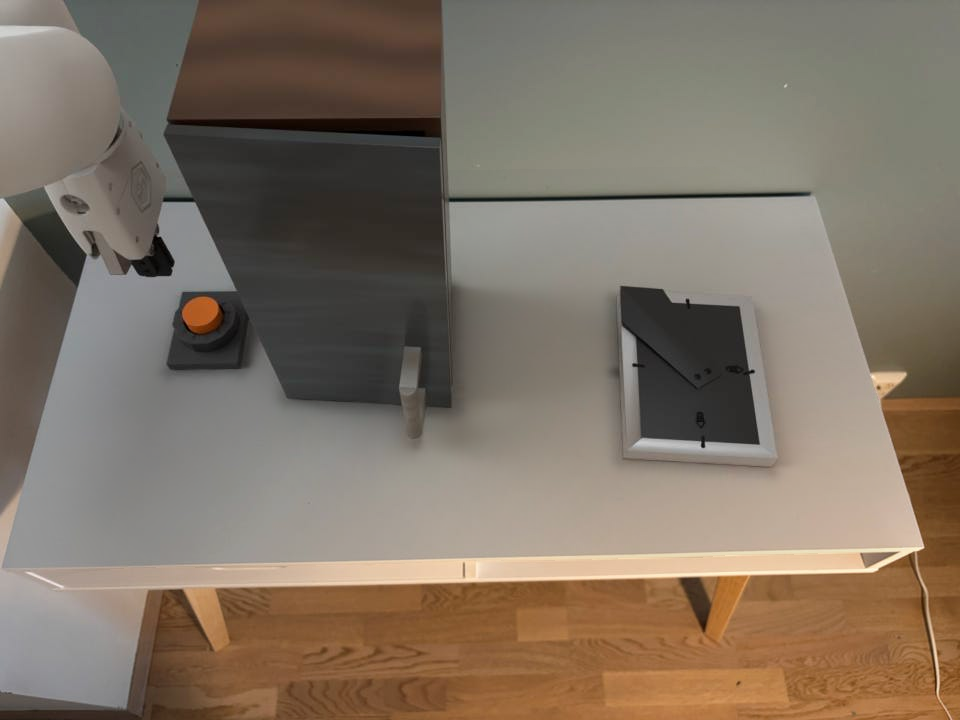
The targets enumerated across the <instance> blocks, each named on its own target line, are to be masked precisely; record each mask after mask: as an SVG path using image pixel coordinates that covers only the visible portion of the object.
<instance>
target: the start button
mask: <svg viewBox="0 0 960 720" xmlns="http://www.w3.org/2000/svg"><path fill="white" fill-rule="evenodd" d="M182 316H183V319H184V321H185V323H186V324H187V326H188V327H189V329H190V330H191V331H192V332H194V333H197V334H208V333H211V332H213V331H214V330H216V329H217V328H218V327H219V326H220V325H221V323H222V320H223V314H222V311H221V310H220V308H219V306H218V304H217V302H216V301H215V300H214V299H212V298H209V297H198V298H195V299H193V300H191V301H189V302H188V303H187V304H186V305H185V307H184V309H183V312H182Z"/></svg>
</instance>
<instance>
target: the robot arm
mask: <svg viewBox="0 0 960 720" xmlns="http://www.w3.org/2000/svg"><path fill="white" fill-rule="evenodd" d="M41 188H44V190H45V192H46V194H47V196H48V198H49V200H50V202H51V204H52V206H53V207H54V209H55V211H56V213H57V214H58V216H59V218H60V219H61V221H62V223H63V224H64V226H65V228H66V229H67V230H68V232H69V234H70V235H71V236H72V238H73V240H75V242H76V243H77V245H78V246H79V247H80V248H81V250H82V251H83V252H84V253H85V254H86V255H87V256H88V257H89V258H91V259H92V260H97V259H98V258H99V257H100V256H101V259H102V260H103V263H104V264H105V267H106V269H107V272H108V274H109V275H111V276H126V275H127V274H128V273H129V270H130V269H131V266H132V268H133V269H134V270H135V272H136V274H138V276H140V277H146V278H156V277H171V276H173V271H174V270H173V268H174V266H175V262H176V261H175V259H174V257H173V255H172V253H171V251H170V250H169V248H168V246H167V245H166V243H165V241H164V239H163V237H162V236H159V235H160V231H161V230H160V225H159V222H158V221H159V218H160V214H161V211H162V206H163V203H164V198H165V195H166V189H167V177H166V175H165V172H164V170H163V168H162V166H161V165H160V163H159V160H158V159H157V157H156V155H155V154H154V152H153V150H152V148H151V146H150V145H149V143H148V142H147V140H146V137H144V135H143V134H142V132H141V130H140V129H139V127H138V126H137V124H136V123H135V122H134V120H133V119H132V117H131V116H130V115H129V113H128V112H127V110H125V109H124V108H123V106H122V105H121V96H120V90H119V86H118V83H117V79H116V76H115V74H114V73H113V69H112V68H111V66H110V65H109V63H108V61H107V59H106V57H105V56H104V55H103V54H102V53H101V52H100V50H99V49H98V48H97V47H96V46H95V45H94V44H93V43H92V42H91V41H89V39H87V38H86V37H84V36H82V34H81V32H80V31H79V28H78V26H77V25H76V23H75V21H74V18H73V16H72V15H71V13H70V11H69V9H68V7H67V5H66V3H65V2H64V0H0V200H1V199H6V198H9V197H12V196H18V195H21V194H24V193H28V192H31V191H34V190H38V189H41Z"/></svg>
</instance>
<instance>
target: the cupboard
mask: <svg viewBox="0 0 960 720" xmlns="http://www.w3.org/2000/svg"><path fill="white" fill-rule="evenodd" d="M193 16H194V17H193V21H192V23H191V28H190V31H189V35H188V38H187V42H186V46H185V50H184V54H183V57H182V60H181V65H180V68H179V72H178V76H177V79H176V82H175V87H174V90H173V94H172V97H171V101H170V104H169V109H168V112H167V116H166V119H165V120H166V122H167V124H171V125H191V126H211V127H231V128H252V129H272V130H292V131H312V132H332V133H352V134H372V135H392V136H412V137H432V138H441V153H442V175H443V198H444V220H445V243H446V265H447V288H448V310H449V333H450V355H451V378H452V387H453V385H454V384H453V383H454V380H453V375H454V373H453V368H454V367H453V276H452V275H453V273H452V250H451V249H452V247H451V244H452V243H451V218H450V217H451V215H450V187H449V186H450V185H449V164H448V163H449V160H448V135H447V130H448V129H447V107H446V106H447V103H446V77H445V76H446V75H445V51H444V50H445V49H444V48H445V46H444V45H445V44H444V23H443V22H444V20H443V0H198V2H197V5H196V9H195V12H194V15H193Z"/></svg>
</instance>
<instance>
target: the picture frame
mask: <svg viewBox="0 0 960 720" xmlns="http://www.w3.org/2000/svg"><path fill="white" fill-rule="evenodd" d="M619 288H620V289H618V292H617V296H616V316H617V317H616V319H617V320H616V321H617V343H618V345H617V347H618V366H619V386H620V387H619V390H620V391H619V392H620V409H621V410H620V411H621V412H620V413H621V436H622V437H621V439H622V458H623V459H629V460H646V461H663V462H664V461H666V462H677V463H678V462H679V463H696V464H697V463H698V464H713V465H715V464H716V465H732V466H745V467H746V466H748V467H749V466H750V467H762V468H763V467H765V468H772V467H773V466H774V465H775V463H777V461H778V460H779V457H778V451H777V445H776V439H775V432H774V425H773V419H772V413H771V406H770V400H769V394H768V388H767V380H766V375H765V368H764V361H763V356H762V355H763V354H762V349H761V344H760V343H761V342H760V336H759V331H758V330H759V329H758V325H757V324H758V323H757V318H756V311H755V305H754V297H753V296H747V295H746V296H745V295H727V294H708V293H690V292H689V293H688V292H671V291H665V290H664V289H663V288H658V287H657V288H656V287H643V286H642V287H641V286H630V285H629V286H626V285H620V287H619Z"/></svg>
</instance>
